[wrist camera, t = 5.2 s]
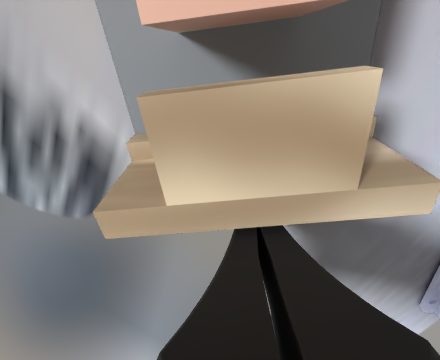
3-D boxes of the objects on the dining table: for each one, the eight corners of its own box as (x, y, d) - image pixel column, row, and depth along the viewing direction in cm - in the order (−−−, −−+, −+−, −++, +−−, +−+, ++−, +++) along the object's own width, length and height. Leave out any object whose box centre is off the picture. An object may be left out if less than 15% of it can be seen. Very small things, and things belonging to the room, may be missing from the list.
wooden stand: (350, 175, 13) (417, 244, 8) (152, 192, 14) (118, 265, 9) (373, 49, 10) (496, 54, 5) (118, 80, 11) (43, 108, 6)
